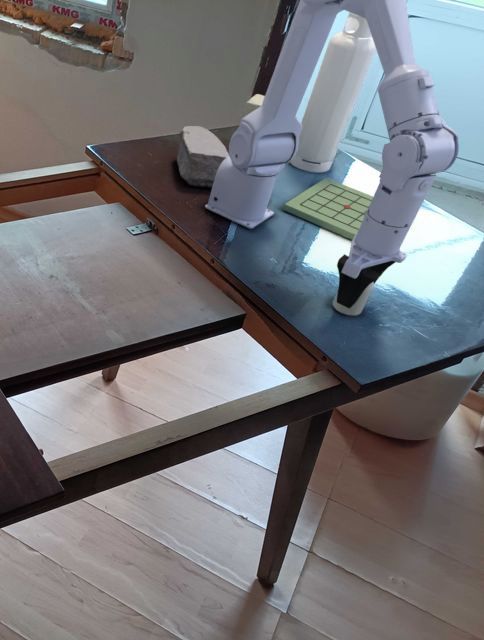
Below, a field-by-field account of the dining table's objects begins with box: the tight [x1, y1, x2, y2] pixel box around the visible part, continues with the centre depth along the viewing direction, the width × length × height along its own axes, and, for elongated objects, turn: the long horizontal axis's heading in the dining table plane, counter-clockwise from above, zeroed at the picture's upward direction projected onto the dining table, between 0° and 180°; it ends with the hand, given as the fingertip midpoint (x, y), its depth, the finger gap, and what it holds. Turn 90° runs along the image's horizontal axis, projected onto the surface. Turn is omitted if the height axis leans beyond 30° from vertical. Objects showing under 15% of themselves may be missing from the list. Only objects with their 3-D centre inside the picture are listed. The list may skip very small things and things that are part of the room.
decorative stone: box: [176, 125, 229, 189], centre depth 129 cm, size 15×7×10 cm
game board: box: [282, 177, 374, 241], centre depth 122 cm, size 16×16×1 cm
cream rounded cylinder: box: [331, 282, 375, 316], centre depth 99 cm, size 4×4×6 cm
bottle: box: [289, 12, 377, 173], centre depth 128 cm, size 8×8×28 cm
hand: (351, 298), depth 100 cm, fingers closed on cream rounded cylinder, 4 cm apart
